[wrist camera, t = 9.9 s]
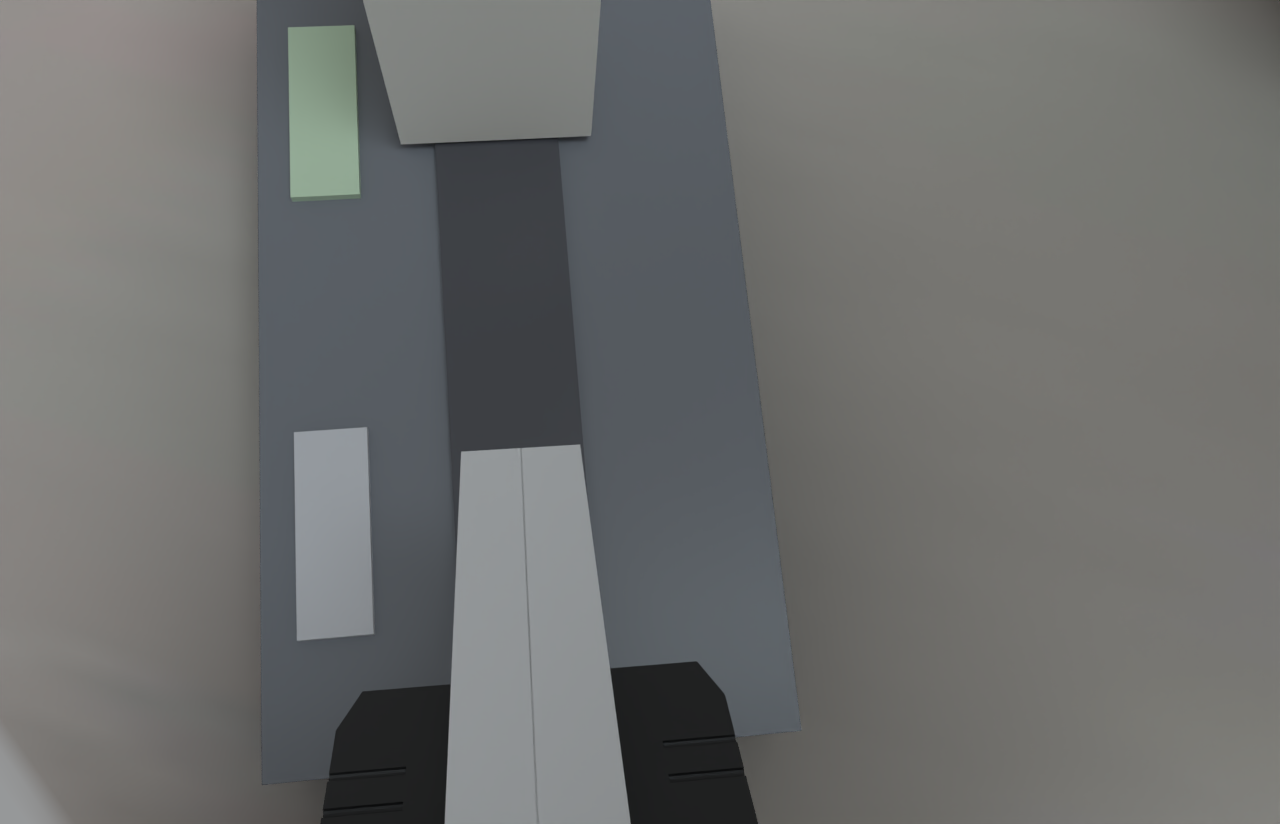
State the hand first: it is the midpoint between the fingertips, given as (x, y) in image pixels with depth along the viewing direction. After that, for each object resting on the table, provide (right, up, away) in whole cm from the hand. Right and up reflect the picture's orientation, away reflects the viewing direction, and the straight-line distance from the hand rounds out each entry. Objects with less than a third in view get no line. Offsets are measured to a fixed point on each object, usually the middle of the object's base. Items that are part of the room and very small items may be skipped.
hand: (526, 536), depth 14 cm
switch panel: (-1, +3, +11) cm, 12 cm away
